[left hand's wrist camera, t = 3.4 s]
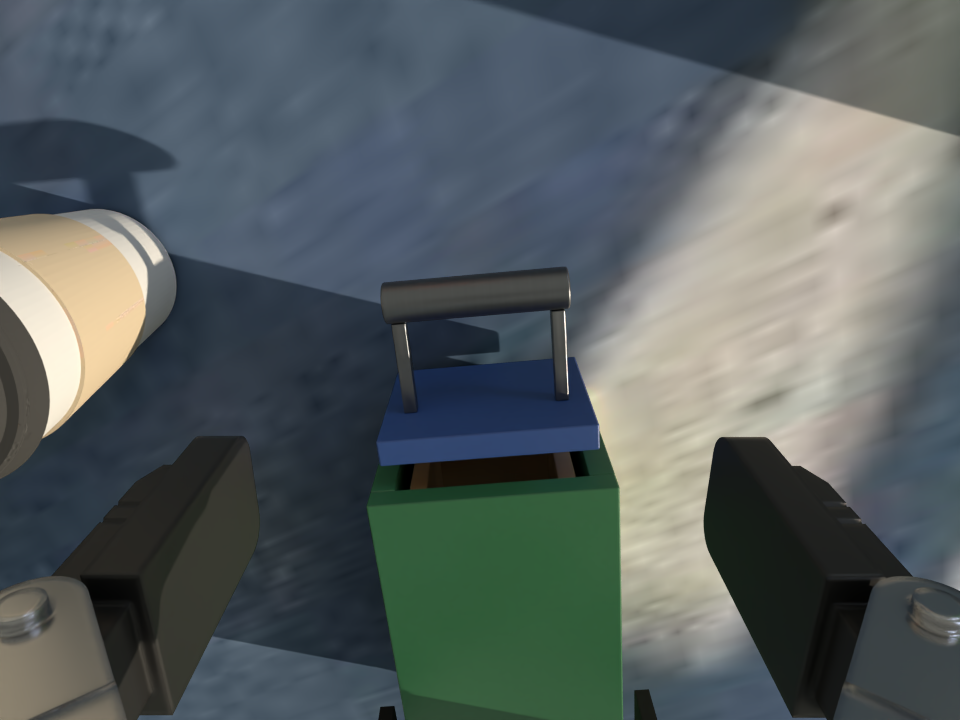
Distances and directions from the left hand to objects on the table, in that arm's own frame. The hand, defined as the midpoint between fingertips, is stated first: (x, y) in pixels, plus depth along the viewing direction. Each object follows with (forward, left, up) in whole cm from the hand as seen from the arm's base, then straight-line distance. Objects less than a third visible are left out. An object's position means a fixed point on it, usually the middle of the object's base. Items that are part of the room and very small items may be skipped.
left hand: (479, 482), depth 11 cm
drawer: (-9, +10, -22) cm, 26 cm away
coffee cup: (+14, +13, -23) cm, 30 cm away
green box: (-13, +14, -23) cm, 30 cm away
